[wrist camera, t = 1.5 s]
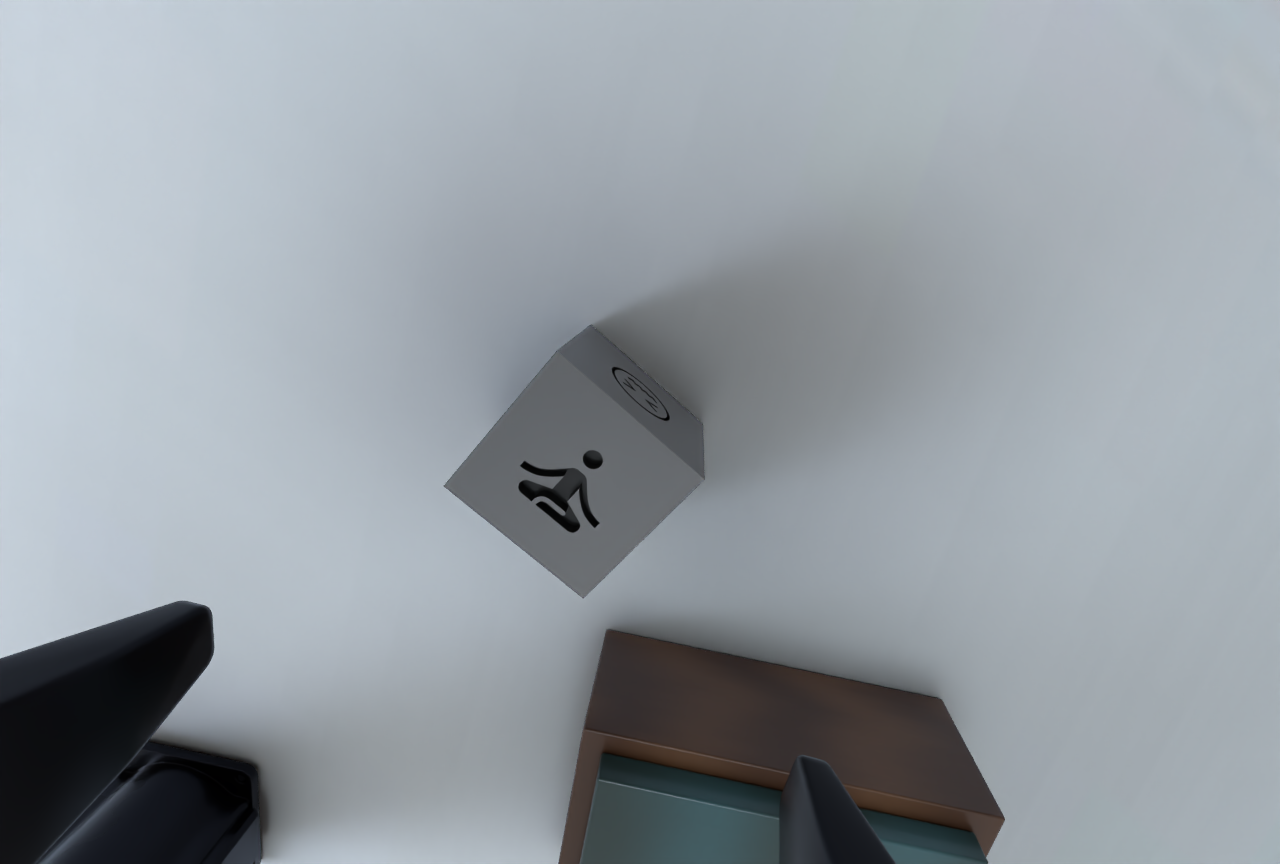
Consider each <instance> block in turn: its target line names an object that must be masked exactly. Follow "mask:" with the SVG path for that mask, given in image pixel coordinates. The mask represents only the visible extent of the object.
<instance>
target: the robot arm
mask: <svg viewBox="0 0 1280 864" xmlns="http://www.w3.org/2000/svg"><path fill="white" fill-rule="evenodd" d="M213 653H214V634H213V618H212V612H211V610H210V609H209V607H207V606H205V605H201V604H197V603H193V602H189V601H177V602H174V603H171V604H168V605H164V606H161V607H158V608H155V609H152V610H149V611H146V612H143V613H140V614H137V615H134V616H131V617H127V618H124V619H121V620H118V621H115V622H112V623H109V624H106V625H103V626H100V627H97V628H93V629H90V630H87V631H84V632H81V633H78V634H75V635H72V636H69V637H66V638H62V639H59V640H56V641H53V642H50V643H47V644H44V645H41V646H38V647H35V648H32V649H28V650H25V651H22V652H19V653H16V654H13V655H10V656H7V657H4V658H1V659H0V864H260V862H261V843H260V816H259V796H258V774H257V770H256V769H255V768H254V767H253V766H252V765H250V764H247V763H243V762H238V761H233V760H229V759H224V758H220V757H215V756H211V755H206V754H202V753H197V752H193V751H188V750H184V749H179V748H175V747H170V746H165V745H161V744H156V743H152V742H148V740H149V739H150V738H151V737H152V735H153V734H154V733H155V732H156V730H157V729H158V728H159V727H160V725H161V724H162V723H163V722H164V720H165V719H166V718H167V717H168V715H169V714H170V713H171V712H172V710H173V709H174V708H175V706H176V705H177V704H178V703H179V701H180V700H181V699H182V698H183V696H184V695H185V694H186V693H187V691H188V690H189V689H190V688H191V686H192V685H193V684H194V683H195V681H196V680H197V679H198V678H199V676H200V675H201V674H202V673H203V671H204V670H205V669H206V667H207V666H208V665H209V663H210V661H211V659H212V656H213ZM779 864H896V863H895V861H894V860H893V858H892V857H891V855H890V854H889V852H888V851H887V849H886V848H885V846H884V845H883V843H882V842H881V840H880V839H879V837H878V836H877V834H876V833H875V831H874V830H873V828H872V827H871V825H870V824H869V823H868V821H867V820H866V818H865V817H864V815H863V814H862V812H861V811H860V809H859V808H858V806H857V805H856V803H855V802H854V800H853V799H852V797H851V796H850V794H849V793H848V791H847V790H846V788H845V787H844V785H843V784H842V783H841V781H840V780H839V778H838V777H837V775H836V774H835V772H834V771H833V769H832V768H831V766H830V765H829V764H828V763H827V762H826V761H824V760H821V759H817V758H813V757H809V756H805V755H799V756H798V757H797V758H796V759H795V761H794V763H793V766H792V768H791V771H790V773H789V776H788V779H787V781H786V784H785V786H784V789H783V792H782V795H781V799H780V806H779Z"/></svg>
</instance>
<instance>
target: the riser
mask: <svg viewBox="0 0 1280 864" xmlns="http://www.w3.org/2000/svg"><path fill="white" fill-rule="evenodd" d="M799 755H805V756H809V757H813V758H817V759H821V760H824V761H826V762H827V763H828V764H829V765H830V766H831V768H832V769H833V771H834V772H835V774H836V775H837V777H838V778H839V780H840V781H841V783H842V784H843V785H844V787H845V788H846V790H847V791H848V793H849V794H850V796H851V797H852V799H853V800H854V802H855V803H856V805H857V806H858V808H859V809H860V811H861V812H862V814H863V815H864V817H865V818H866V820H867V821H868V823H869V824H870V825H871V827H872V828H873V830H874V831H875V833H876V834H877V836H878V837H879V839H880V840H881V842H882V843H883V845H884V846H885V848H886V849H887V851H888V852H889V854H890V855H891V857H892V858H893V860H894V861H895V863H896V864H988V861H987V859H986V857H987V855H988V853H989V851H990V849H991V847H992V845H993V843H994V841H995V839H996V837H997V835H998V833H999V831H1000V829H1001V827H1002V825H1003V823H1004V821H1005V818H1004V816H1003V814H1002V812H1001V810H1000V808H999V806H998V804H997V803H996V801H995V799H994V797H993V795H992V793H991V791H990V789H989V788H988V786H987V784H986V782H985V780H984V778H983V776H982V774H981V772H980V771H979V769H978V767H977V765H976V763H975V761H974V759H973V757H972V756H971V754H970V752H969V750H968V748H967V746H966V744H965V742H964V741H963V739H962V737H961V735H960V733H959V731H958V729H957V727H956V726H955V724H954V722H953V720H952V718H951V716H950V714H949V712H948V711H947V709H946V707H945V705H944V703H943V701H942V700H941V699H938V698H933V697H929V696H924V695H919V694H914V693H909V692H905V691H900V690H895V689H890V688H885V687H881V686H876V685H871V684H866V683H861V682H857V681H852V680H847V679H842V678H837V677H832V676H828V675H823V674H818V673H813V672H808V671H804V670H799V669H794V668H789V667H784V666H780V665H775V664H770V663H765V662H760V661H756V660H751V659H746V658H741V657H736V656H732V655H727V654H722V653H717V652H712V651H708V650H703V649H698V648H693V647H688V646H684V645H679V644H674V643H669V642H664V641H660V640H655V639H650V638H645V637H640V636H636V635H631V634H626V633H621V632H616V631H612V630H607V631H606V634H605V638H604V642H603V646H602V651H601V655H600V659H599V663H598V668H597V672H596V676H595V680H594V685H593V689H592V693H591V697H590V702H589V706H588V710H587V714H586V719H585V723H584V727H583V732H582V738H581V743H580V748H579V754H578V759H577V765H576V770H575V776H574V781H573V786H572V792H571V797H570V803H569V808H568V814H567V819H566V825H565V830H564V835H563V841H562V846H561V852H560V857H559V863H558V864H779V806H780V799H781V795H782V792H783V789H784V786H785V784H786V781H787V779H788V776H789V773H790V771H791V768H792V766H793V763H794V761H795V759H796V758H797V757H798V756H799Z"/></svg>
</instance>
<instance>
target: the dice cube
mask: <svg viewBox="0 0 1280 864" xmlns="http://www.w3.org/2000/svg"><path fill="white" fill-rule="evenodd" d="M704 480H705V475H704V443H703V424H702V423H701V422H700V421H699V420H698V419H697V418H696V417H695V416H693V415H692V414H691V413H690V412H689V411H688V410H687V409H685V408H684V407H683V406H682V405H681V404H680V403H679V402H678V401H676V400H675V399H674V398H673V397H672V396H671V395H670V394H669V393H667V392H666V391H665V390H664V389H663V388H662V387H661V386H660V385H658V384H657V383H656V382H655V381H654V380H653V379H652V378H651V377H649V376H648V375H647V374H646V373H645V372H644V371H643V370H642V369H640V368H639V367H638V366H637V365H636V364H635V363H634V362H633V361H631V360H630V359H629V358H628V357H627V356H626V355H625V354H624V353H622V352H621V351H620V350H619V349H618V348H617V347H616V346H615V345H613V344H612V343H611V342H610V341H609V340H608V339H607V338H606V337H604V336H603V335H602V334H601V333H600V332H599V331H598V330H597V329H595V328H594V327H593V326H592V325H590V326H588V327H587V328H586V329H585V330H583V331H582V332H581V333H579V334H578V335H577V336H576V337H574V338H573V339H572V340H570V341H569V342H568V343H566V344H565V345H564V346H563V347H561V348H560V349H559V350H557V351H556V353H555V354H554V355H553V356H552V357H551V359H550V360H549V361H548V362H547V363H546V365H545V366H544V367H543V368H542V369H541V370H540V372H539V373H538V374H537V375H536V376H535V378H534V379H533V380H532V381H531V382H530V384H529V385H528V386H527V387H526V388H525V390H524V391H523V392H522V393H521V394H520V396H519V397H518V398H517V399H516V400H515V401H514V403H513V404H512V405H511V406H510V407H509V409H508V410H507V411H506V412H505V413H504V415H503V416H502V417H501V418H500V419H499V421H498V422H497V423H496V424H495V425H494V427H493V428H492V429H491V430H490V431H489V432H488V434H487V435H486V436H485V437H484V438H483V440H482V441H481V442H480V443H479V444H478V446H477V447H476V448H475V449H474V450H473V452H472V453H471V454H470V455H469V456H468V458H467V459H466V460H465V461H464V462H463V463H462V465H461V466H460V467H459V468H458V469H457V471H456V472H455V473H454V474H453V475H452V477H451V478H450V479H449V480H448V481H447V483H446V484H445V485H444V487H445V488H446V489H448V490H449V491H450V492H451V493H453V494H454V495H455V496H456V497H458V498H459V499H460V500H461V501H463V502H464V503H465V504H466V505H468V506H469V507H470V508H471V509H473V510H474V511H475V512H476V513H478V514H479V515H480V516H481V517H483V518H484V519H485V520H486V521H487V522H489V523H490V524H491V525H492V526H494V527H495V528H496V529H497V530H499V531H500V532H501V533H502V534H504V535H505V536H506V537H507V538H509V539H510V540H511V541H512V542H514V543H515V544H516V545H517V546H519V547H520V548H521V549H522V550H524V551H525V552H526V553H527V554H528V555H530V556H531V557H532V558H533V559H535V560H536V561H537V562H538V563H540V564H541V565H542V566H543V567H545V568H546V569H547V570H548V571H550V572H551V573H552V574H553V575H555V576H556V577H557V578H558V579H560V580H561V581H562V582H563V583H565V584H566V585H567V586H568V587H569V588H571V589H572V590H573V591H574V592H576V593H577V594H578V595H579V596H581V597H582V598H584V597H585V596H586V595H587V594H588V593H589V592H590V591H591V590H593V589H594V588H595V587H596V586H597V585H598V584H599V583H600V582H601V581H602V580H603V579H604V578H605V577H606V576H607V575H608V574H609V573H610V572H611V571H612V570H613V569H614V568H615V567H616V566H617V565H618V564H619V563H620V562H621V561H622V560H623V559H624V558H625V557H626V556H627V555H628V554H629V553H630V552H631V551H632V550H633V549H634V548H635V547H636V546H637V545H638V544H639V543H640V542H641V541H642V540H643V539H644V538H645V537H647V536H648V535H649V534H650V533H651V532H652V531H653V530H654V529H655V528H656V527H657V526H658V525H659V524H660V523H661V522H662V521H663V520H664V519H665V518H666V517H667V516H668V515H669V514H670V513H671V512H672V511H673V510H674V509H675V508H676V507H677V506H678V505H679V504H680V503H681V502H682V501H683V500H684V499H685V498H686V497H687V496H688V495H689V494H690V493H691V492H692V491H693V490H694V489H695V488H696V487H697V486H698V485H699V484H701V483H702V482H703V481H704Z"/></svg>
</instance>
